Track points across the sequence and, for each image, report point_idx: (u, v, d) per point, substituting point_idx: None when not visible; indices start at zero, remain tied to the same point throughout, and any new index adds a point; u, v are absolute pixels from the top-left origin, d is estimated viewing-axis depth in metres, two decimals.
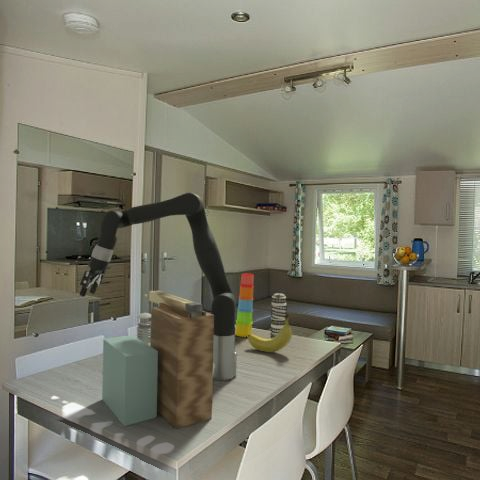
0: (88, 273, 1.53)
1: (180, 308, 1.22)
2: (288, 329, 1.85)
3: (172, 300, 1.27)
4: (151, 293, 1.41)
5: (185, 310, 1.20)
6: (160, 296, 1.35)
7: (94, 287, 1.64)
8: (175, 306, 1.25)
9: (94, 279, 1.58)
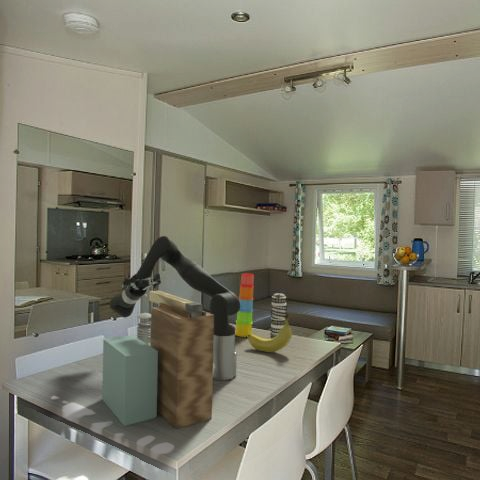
0: None
1: (180, 308, 1.22)
2: (288, 329, 1.85)
3: (172, 300, 1.27)
4: (151, 293, 1.41)
5: (185, 310, 1.20)
6: (160, 296, 1.35)
7: (154, 277, 1.53)
8: (175, 306, 1.25)
9: None
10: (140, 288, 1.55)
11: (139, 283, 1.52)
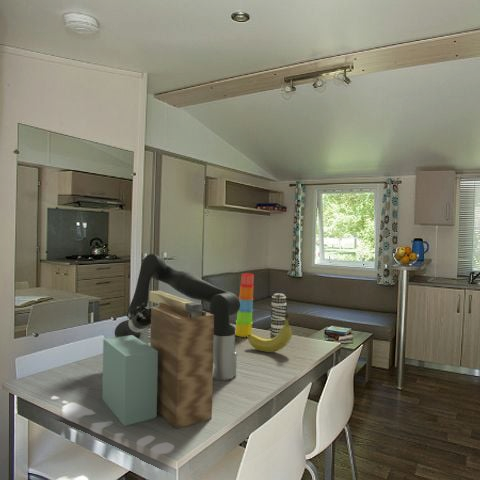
0: (128, 315, 1.46)
1: (180, 308, 1.22)
2: (288, 329, 1.85)
3: (172, 300, 1.27)
4: (151, 293, 1.41)
5: (185, 310, 1.20)
6: (160, 296, 1.35)
7: None
8: (175, 306, 1.25)
9: None
10: (147, 317, 1.49)
11: (146, 312, 1.46)
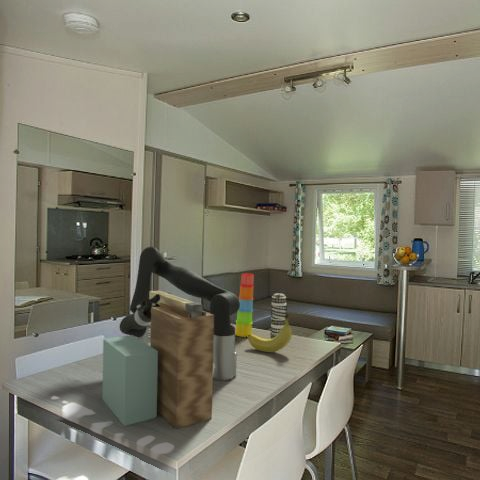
0: (137, 306, 1.39)
1: (180, 308, 1.22)
2: (288, 329, 1.85)
3: (172, 300, 1.27)
4: (151, 293, 1.41)
5: (185, 310, 1.20)
6: (160, 296, 1.35)
7: None
8: (175, 306, 1.25)
9: None
10: None
11: (156, 304, 1.41)
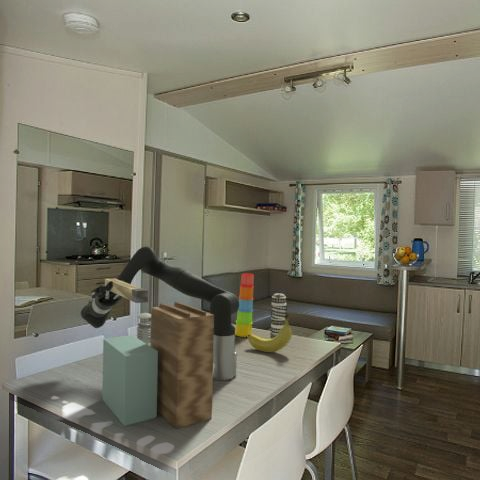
0: (91, 293, 1.40)
1: (128, 294, 1.23)
2: (288, 329, 1.85)
3: (122, 287, 1.28)
4: (106, 281, 1.42)
5: (131, 296, 1.20)
6: (113, 283, 1.35)
7: None
8: (124, 292, 1.26)
9: None
10: (110, 297, 1.44)
11: (111, 292, 1.42)
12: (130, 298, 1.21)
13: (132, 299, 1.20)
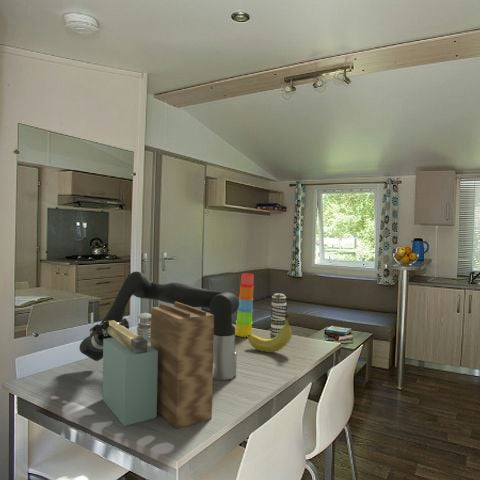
0: None
1: (127, 343, 1.23)
2: (288, 329, 1.85)
3: (121, 334, 1.28)
4: None
5: (131, 346, 1.20)
6: (112, 328, 1.36)
7: (121, 322, 1.41)
8: (123, 340, 1.26)
9: None
10: None
11: None
12: (129, 347, 1.22)
13: (131, 349, 1.20)
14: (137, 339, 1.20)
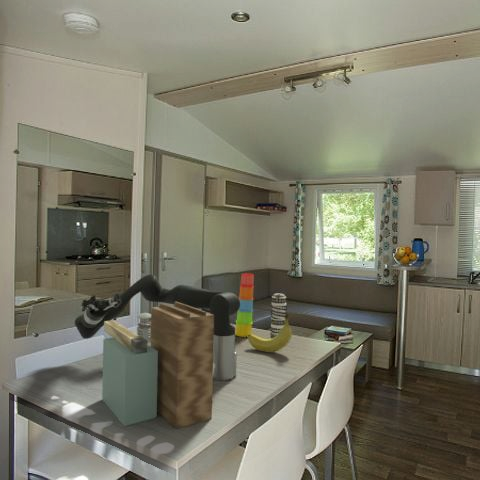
0: (81, 307, 1.51)
1: (127, 343, 1.23)
2: (288, 329, 1.85)
3: (121, 334, 1.28)
4: (105, 323, 1.42)
5: (131, 346, 1.20)
6: (112, 328, 1.36)
7: (114, 297, 1.53)
8: (123, 340, 1.26)
9: None
10: (100, 308, 1.55)
11: (99, 304, 1.52)
12: (129, 347, 1.22)
13: (131, 349, 1.20)
14: (137, 339, 1.20)
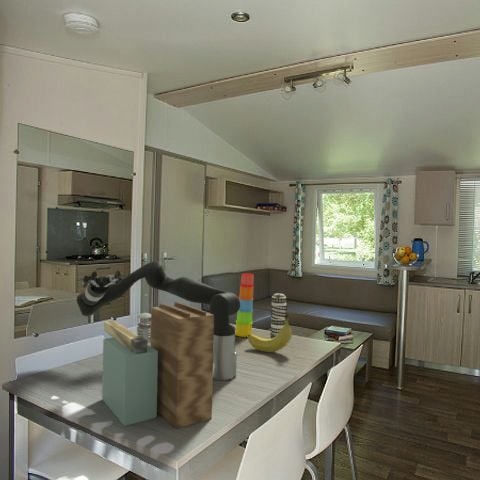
0: None
1: (127, 343, 1.23)
2: (288, 329, 1.85)
3: (121, 334, 1.28)
4: (105, 323, 1.42)
5: (131, 346, 1.20)
6: (112, 328, 1.36)
7: (115, 274, 1.54)
8: (123, 340, 1.26)
9: None
10: (101, 285, 1.57)
11: (100, 280, 1.53)
12: (129, 347, 1.22)
13: (131, 349, 1.20)
14: (137, 339, 1.20)
